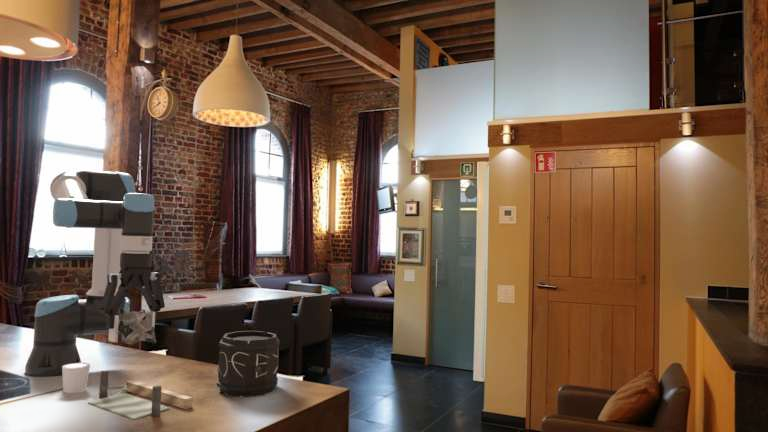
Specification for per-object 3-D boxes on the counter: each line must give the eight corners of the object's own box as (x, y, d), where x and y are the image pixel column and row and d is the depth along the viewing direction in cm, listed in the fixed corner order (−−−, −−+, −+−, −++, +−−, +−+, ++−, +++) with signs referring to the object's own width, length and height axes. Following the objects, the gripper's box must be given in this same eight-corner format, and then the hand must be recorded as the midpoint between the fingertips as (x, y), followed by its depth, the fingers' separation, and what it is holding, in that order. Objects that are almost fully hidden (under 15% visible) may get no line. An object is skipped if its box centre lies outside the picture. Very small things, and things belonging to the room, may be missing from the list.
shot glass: (94, 388, 155) (95, 363, 155) (73, 395, 148) (74, 369, 148) (76, 385, 157) (77, 361, 157) (54, 391, 150) (56, 366, 151)
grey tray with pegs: (81, 401, 143) (83, 374, 143) (132, 389, 155) (133, 364, 156) (140, 422, 129) (142, 392, 129) (191, 407, 141) (193, 380, 142)
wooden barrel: (222, 401, 147) (225, 343, 148) (210, 384, 163) (213, 331, 164) (286, 394, 155) (289, 339, 156) (269, 379, 171) (272, 329, 172)
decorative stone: (168, 340, 138) (160, 302, 137) (132, 353, 132) (123, 313, 131) (144, 333, 150) (136, 298, 149) (109, 344, 143) (101, 308, 142)
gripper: (103, 253, 130) (97, 347, 130) (181, 252, 149) (177, 334, 148) (86, 251, 135) (80, 342, 134) (164, 251, 153) (160, 331, 152)
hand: (131, 338), depth 141 cm, fingers closed on decorative stone, 10 cm apart
